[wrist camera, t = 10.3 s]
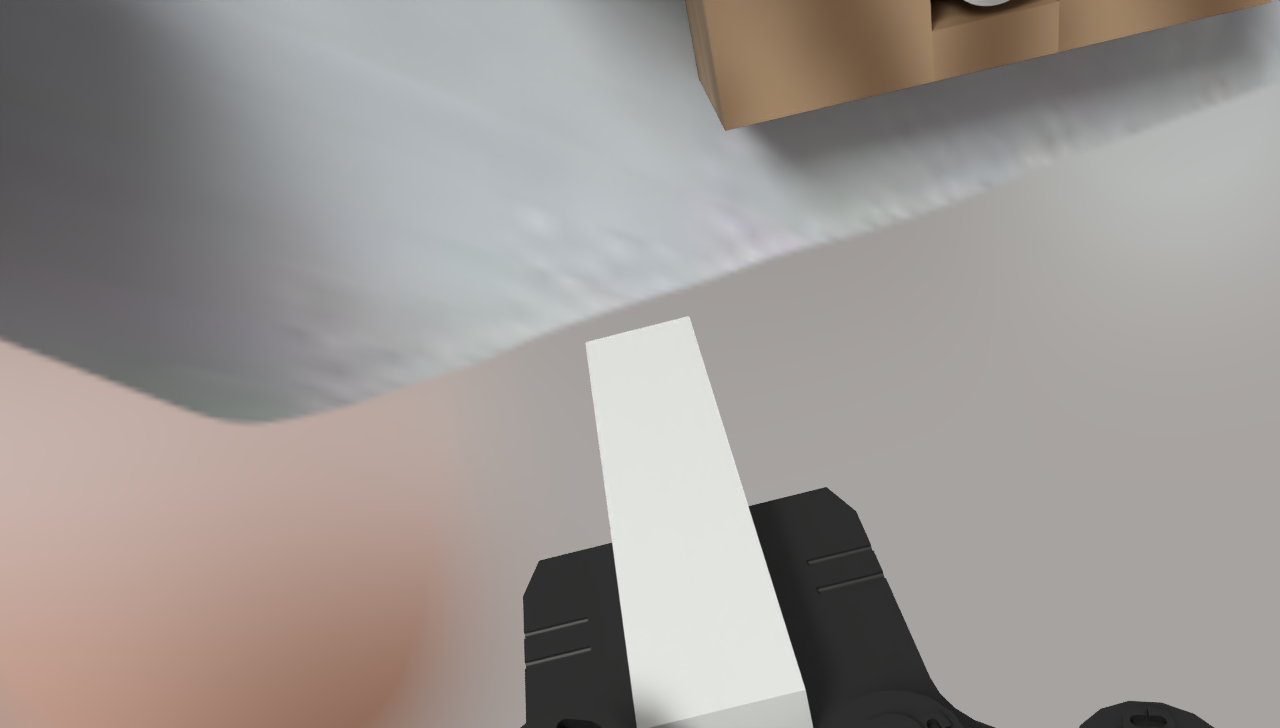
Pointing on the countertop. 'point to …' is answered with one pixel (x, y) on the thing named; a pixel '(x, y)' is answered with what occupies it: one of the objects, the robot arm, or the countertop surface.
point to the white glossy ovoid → (986, 2)
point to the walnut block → (893, 44)
